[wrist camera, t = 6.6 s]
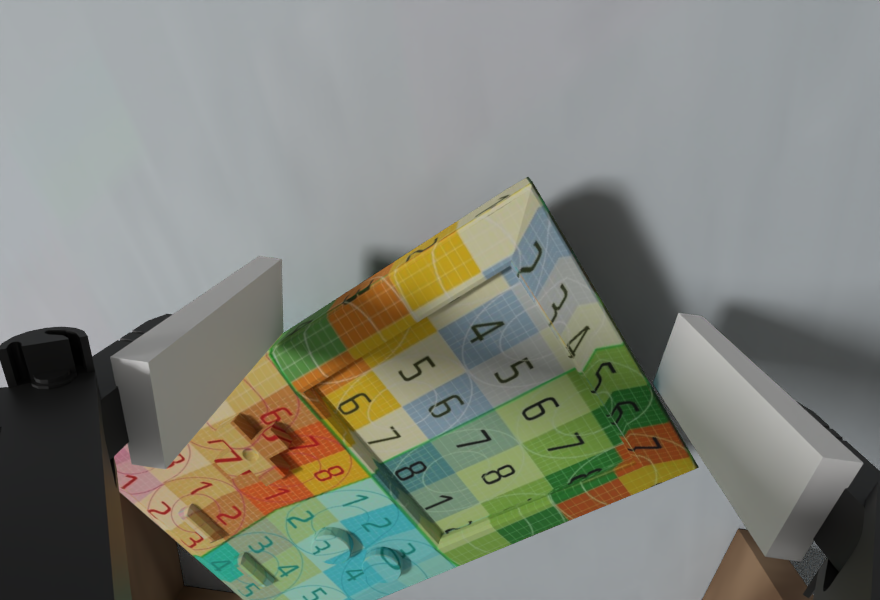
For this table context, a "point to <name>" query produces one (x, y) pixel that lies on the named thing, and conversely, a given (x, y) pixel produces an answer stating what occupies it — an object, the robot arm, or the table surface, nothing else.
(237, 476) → the puzzle game
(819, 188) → the table surface
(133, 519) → the frame
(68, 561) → the robot arm
